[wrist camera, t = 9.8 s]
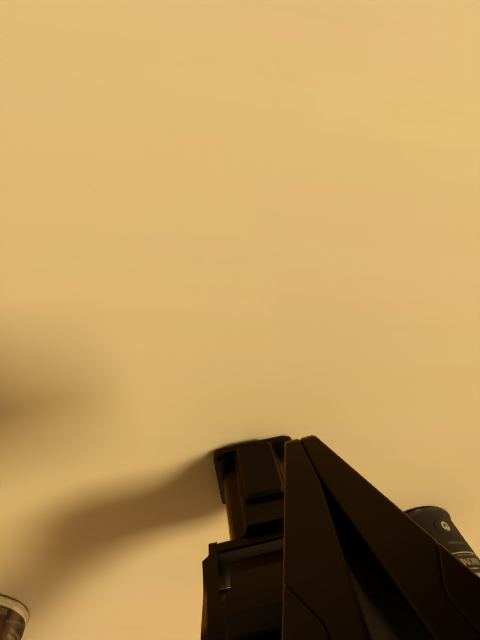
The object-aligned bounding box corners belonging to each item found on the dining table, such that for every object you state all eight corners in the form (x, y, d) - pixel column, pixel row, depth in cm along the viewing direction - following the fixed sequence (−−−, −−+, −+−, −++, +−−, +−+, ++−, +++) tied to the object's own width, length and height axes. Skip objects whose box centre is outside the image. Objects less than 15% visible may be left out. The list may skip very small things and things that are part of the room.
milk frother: (459, 498, 34) (628, 702, 21) (422, 571, 41) (531, 759, 28) (340, 519, 32) (447, 759, 19) (322, 593, 39) (391, 805, 26)
